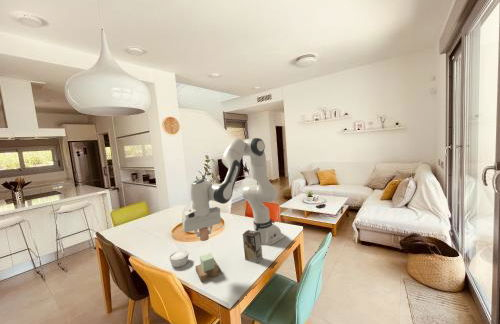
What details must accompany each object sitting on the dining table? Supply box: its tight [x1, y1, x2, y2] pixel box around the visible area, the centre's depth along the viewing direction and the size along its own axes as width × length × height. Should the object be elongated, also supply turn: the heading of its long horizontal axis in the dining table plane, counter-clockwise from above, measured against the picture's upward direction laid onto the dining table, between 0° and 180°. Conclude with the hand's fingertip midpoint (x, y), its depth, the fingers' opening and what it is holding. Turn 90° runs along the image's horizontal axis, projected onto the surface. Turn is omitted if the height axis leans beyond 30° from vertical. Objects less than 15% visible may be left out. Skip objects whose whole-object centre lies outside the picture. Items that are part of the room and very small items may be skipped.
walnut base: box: [195, 259, 222, 283], centre depth 115 cm, size 11×11×3 cm
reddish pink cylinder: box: [198, 226, 210, 242], centre depth 113 cm, size 5×5×6 cm
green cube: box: [199, 252, 215, 272], centre depth 115 cm, size 6×6×6 cm
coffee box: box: [242, 229, 264, 264], centre depth 124 cm, size 9×6×16 cm
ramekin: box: [168, 249, 189, 268], centre depth 127 cm, size 11×11×5 cm
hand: (204, 235), depth 113 cm, fingers closed on reddish pink cylinder, 5 cm apart
